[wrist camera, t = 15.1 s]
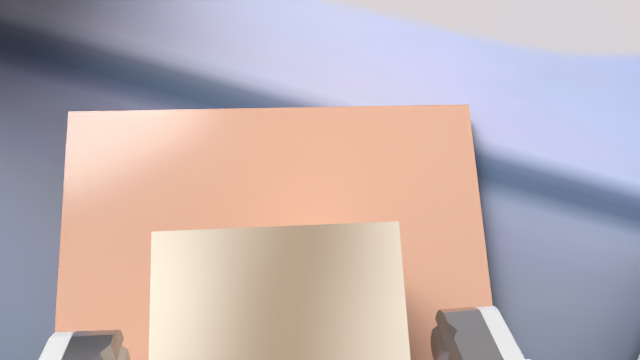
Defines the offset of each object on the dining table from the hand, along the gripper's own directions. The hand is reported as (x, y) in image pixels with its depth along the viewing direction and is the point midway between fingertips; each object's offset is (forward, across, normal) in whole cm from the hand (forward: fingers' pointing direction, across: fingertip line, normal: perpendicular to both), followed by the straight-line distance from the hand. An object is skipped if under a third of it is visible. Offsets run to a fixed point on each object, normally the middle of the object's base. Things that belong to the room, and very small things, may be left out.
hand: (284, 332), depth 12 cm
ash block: (+3, 0, +3) cm, 5 cm away
